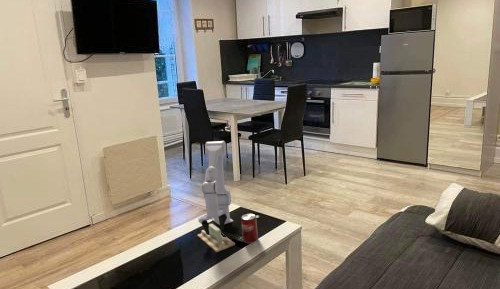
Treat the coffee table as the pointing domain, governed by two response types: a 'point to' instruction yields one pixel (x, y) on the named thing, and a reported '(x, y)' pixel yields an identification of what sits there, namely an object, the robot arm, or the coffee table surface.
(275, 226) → the coffee table surface
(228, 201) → the robot arm
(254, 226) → the soda can
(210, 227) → the door panel
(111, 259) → the coffee table surface
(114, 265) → the coffee table surface
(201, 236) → the door track
